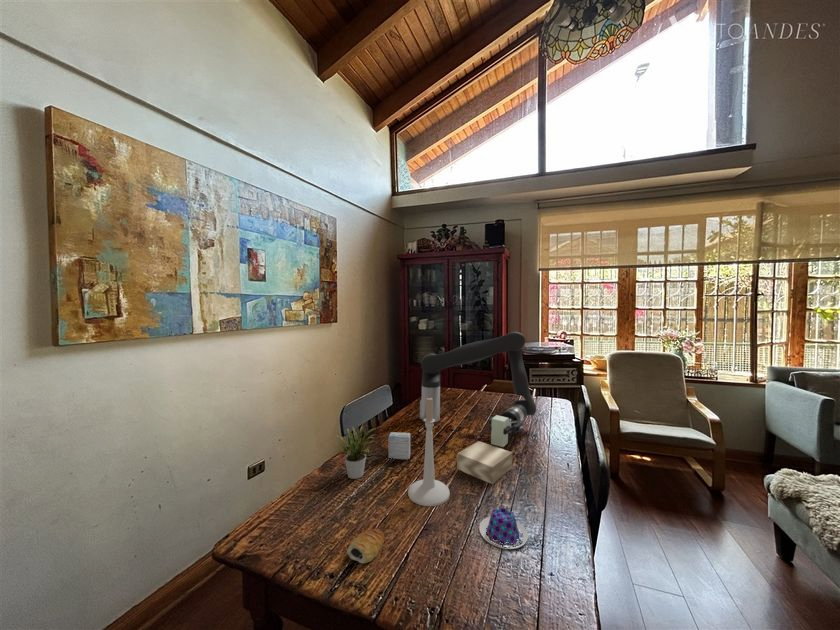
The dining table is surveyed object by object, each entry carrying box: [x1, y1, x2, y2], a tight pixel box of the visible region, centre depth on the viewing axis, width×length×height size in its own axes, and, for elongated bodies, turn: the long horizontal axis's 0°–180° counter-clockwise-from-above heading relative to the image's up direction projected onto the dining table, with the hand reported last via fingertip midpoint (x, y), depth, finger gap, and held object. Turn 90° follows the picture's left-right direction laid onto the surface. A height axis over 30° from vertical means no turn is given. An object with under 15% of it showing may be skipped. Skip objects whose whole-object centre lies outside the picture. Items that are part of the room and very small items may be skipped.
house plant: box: [334, 424, 377, 480], centre depth 109 cm, size 14×14×16 cm
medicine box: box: [387, 431, 411, 460], centre depth 122 cm, size 8×4×9 cm, turn 84°
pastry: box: [346, 528, 385, 564], centre depth 76 cm, size 9×7×4 cm
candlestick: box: [407, 397, 451, 507], centre depth 98 cm, size 13×13×30 cm
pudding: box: [478, 507, 529, 550], centre depth 82 cm, size 12×12×5 cm
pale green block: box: [490, 414, 509, 448], centre depth 126 cm, size 5×5×10 cm
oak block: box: [456, 440, 513, 485], centre depth 114 cm, size 14×14×6 cm
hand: (497, 430), depth 124 cm, fingers closed on pale green block, 5 cm apart
